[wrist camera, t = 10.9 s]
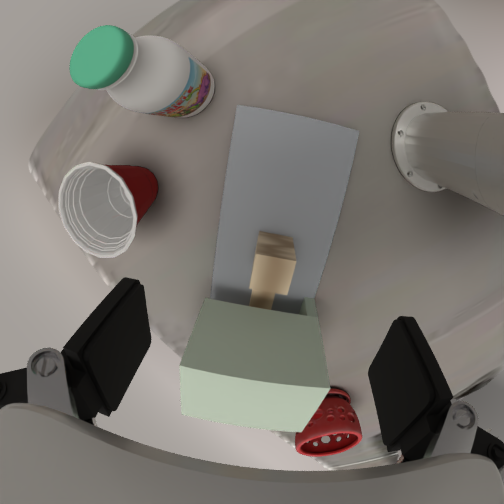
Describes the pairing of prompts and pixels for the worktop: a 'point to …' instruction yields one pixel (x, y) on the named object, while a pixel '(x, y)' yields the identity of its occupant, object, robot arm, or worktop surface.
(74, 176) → the plastic cup
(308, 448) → the plant pot
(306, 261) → the board
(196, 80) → the milk bottle
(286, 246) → the block
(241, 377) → the shelf block
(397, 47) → the worktop surface
